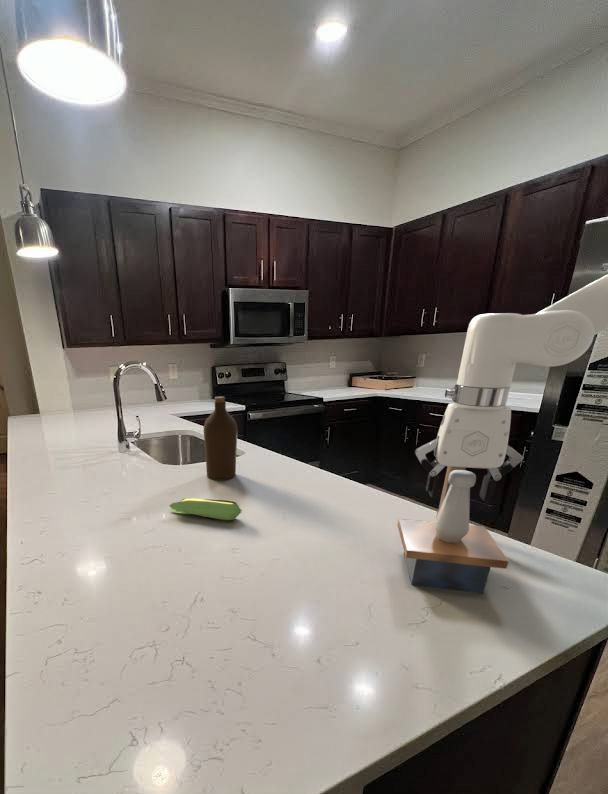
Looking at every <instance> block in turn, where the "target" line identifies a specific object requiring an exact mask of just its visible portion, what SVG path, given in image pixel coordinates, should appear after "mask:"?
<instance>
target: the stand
mask: <svg viewBox="0 0 608 794" xmlns="http://www.w3.org/2000/svg"><path fill="white" fill-rule="evenodd" d="M434 523H435V521H430V520H429V521H427V520H417V519H405V518H398V519H397V529H398V533H399V536H400V541H401V544H402V548H403V557H404V561H405V564H406V569H407V571H408V577H409V580H410V584H411V585H413V586H420V587H429V588H436V589H444V590H452V591H453V590H454V591H460V592H468V593H476V594H484V593H485V590H486V586H487V582H488V579H489V575H490V571H491V568H494V569H495V568H496V569H504V570H507V568H508V565H509V560H508V558H507V556H506V555H505V554H504V552H503V551H502V549H501V548H500V546H499V545H498V544H497V542H496V541H495V540H494V538H493V537H492V535H491V533H490V532H489V531H488V530H487V528H486V527H485V526H483V525H471V524H469V531H468V533H467V534H466V535H465V536H464V537H463V538H462V539H461V540H460V541H459V542H458V543H451V542H445V541H443V540H440V539H438V537H437V534H436V531H435V528H434Z"/></svg>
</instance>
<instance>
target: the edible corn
mask: <svg viewBox="0 0 608 794" xmlns="http://www.w3.org/2000/svg"><path fill="white" fill-rule="evenodd" d="M168 506H169V509H168V510H169V511H170V512H173V513H177V514H185V515H194V516H199V517H204V518H209V519H214V520H221V521H229V522H230V521H233V520H235V519H237V518H238V516H240V515H241V514H242V513H243V509H242V508H241V507H240V505H238V503H237V502H235V501H231V500H225V499H209V498H192V497H191V498H182V499H180V501H176V502H172V503H170V504H169V505H168Z"/></svg>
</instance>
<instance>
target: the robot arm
mask: <svg viewBox="0 0 608 794" xmlns="http://www.w3.org/2000/svg"><path fill="white" fill-rule="evenodd" d="M607 330H608V273H607V274H605V275H604V276H602V277H600V278H598V279H596V280H594V281H593V282H591V283H589V284H587V285H585V286H583V287H581V288H579V289H578V290H576V291H574V292H573V293H571V294H568V295H567V296H565V297H563V298H561V299H560V300H558V301H556V302H554V303H553V304H551V305H549V306H547V307H545V308H544V309H542V310H540V311H538V312H537V313H532V314H521V313H516V312H515V313H514V312H505V313H504V312H502V313H501V312H500V313H499V312H498V313H482V314H478V315H476V316H474V317H473V318H472V319H471V320H470V322H469V323H468V327H467V331H466V336H465V340H464V347H463V351H462V356H461V361H460V366H459V371H458V376H457V380H456V384H455V385H454V386H453V388H446V389H445V392H444V398H449V399H451V400H452V403H451V402H450V403H448V405H447V406H446V409H445V412H444V414H443V416H442V420H441V422H440V425H439V429H438V432H437V436H436V438H435V439H433V440H431V441H430V442H427V443H425V444H422V445H421V446H419V447H418V448H416V449H414V454H415V456H416V458H417V460H418V461H419V462H420V464H421V466H422V467H423V468H424V469H425V471H426V472H427V473H428V475H427V480H426V485H425V491H426V492H428V494H429V497H430V498H431V499H435V498H436V497H437V495H438V494H437V493H438V490H439V483H440V478H441V477H440V476H439V473H441V471H442V470H443V469H444V468H445V467H448V466H453V467H466V468H470V469H471V468H472V469H486V471H487V474H485V475H484V476H483V479H482V484H481V487H480V491H479V497H480V498H481V500H482V501H483V502H485V503H489V502H490V499H491V497H493V496H494V495H495V491H496V487H497V482H498V481H500V480H501V479H502V477H503V476H505V475H507V474H508V473H510V472H511V471H513V469H514V468H516V466H517V465H519V464H520V463H521V462H522V461H523V460H524V456H523V455H521V454H520V453H519V452H518V451H517V450H515V449H514V448H513V447H512V446H510V445H509V438H510V431H511V420H512V407H510V406H508V405H507V402H508V397H509V394H510V389H511V386H512V382H513V379H514V373H515V370H516V366H517V364H526V365H535V366H541V367H559V366H563V365H566V364H569V363H571V362H574V361H575V360H577V359H579V358H580V357H581V356H583V354H585V353H586V351H588V349H589V348H590V347H591V345H592V343H593V340H594V337H595V336H596V335H598V334H600V333H602V332H604V331H607ZM432 451H433V456H434V457H435V459H434V460H433V461H432V462H430V461H429V460H428V458H427V456H426V455H428V453H430V452H432ZM506 456H508V459H507V460H506V461H505V458H506Z"/></svg>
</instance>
